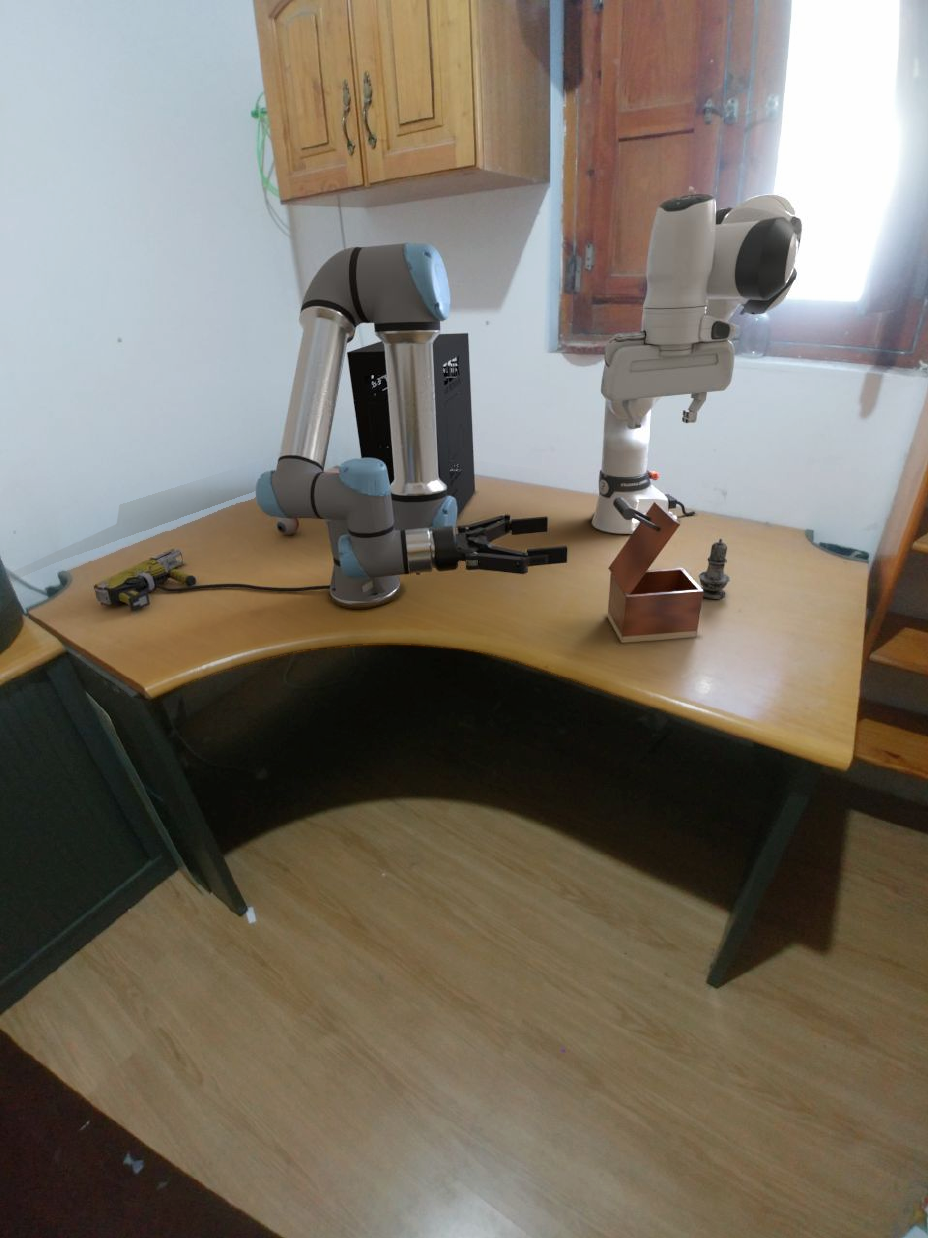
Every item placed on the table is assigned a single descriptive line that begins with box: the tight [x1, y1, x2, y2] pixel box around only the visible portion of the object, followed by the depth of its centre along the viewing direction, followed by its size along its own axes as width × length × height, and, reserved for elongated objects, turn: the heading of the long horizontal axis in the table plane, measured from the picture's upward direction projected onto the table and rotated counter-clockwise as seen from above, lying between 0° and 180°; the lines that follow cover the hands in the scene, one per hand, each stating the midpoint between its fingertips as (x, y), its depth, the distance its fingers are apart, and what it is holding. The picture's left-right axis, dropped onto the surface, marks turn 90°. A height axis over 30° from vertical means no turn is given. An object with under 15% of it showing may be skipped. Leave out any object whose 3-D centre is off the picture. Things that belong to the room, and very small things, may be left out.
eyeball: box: [275, 517, 300, 536], centre depth 163 cm, size 6×6×6 cm
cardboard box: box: [346, 332, 476, 519], centre depth 164 cm, size 38×20×45 cm, turn 167°
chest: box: [606, 567, 704, 644], centre depth 112 cm, size 14×10×10 cm
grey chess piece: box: [698, 538, 731, 600], centre depth 121 cm, size 6×6×12 cm
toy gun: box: [93, 548, 197, 612], centre depth 139 cm, size 5×24×15 cm
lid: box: [608, 497, 681, 595], centre depth 105 cm, size 14×10×9 cm
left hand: (556, 538), depth 103 cm, fingers open, 13 cm apart
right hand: (661, 425), depth 95 cm, fingers open, 8 cm apart
